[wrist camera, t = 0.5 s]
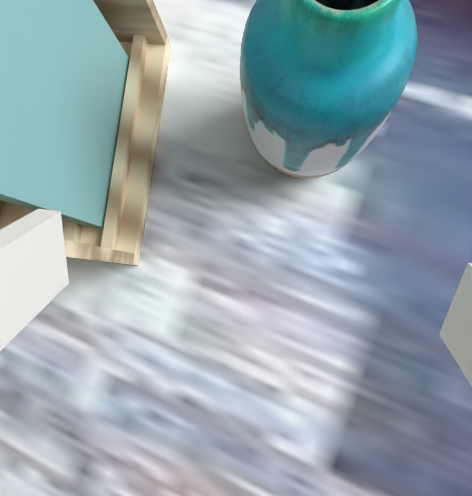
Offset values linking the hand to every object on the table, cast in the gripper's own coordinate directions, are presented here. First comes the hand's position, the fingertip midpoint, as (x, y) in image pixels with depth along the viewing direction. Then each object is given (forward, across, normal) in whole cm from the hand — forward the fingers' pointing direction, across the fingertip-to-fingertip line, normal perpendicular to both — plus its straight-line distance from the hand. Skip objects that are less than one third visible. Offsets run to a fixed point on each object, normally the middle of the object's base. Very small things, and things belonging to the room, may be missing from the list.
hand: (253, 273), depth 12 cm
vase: (+26, -3, -1) cm, 26 cm away
